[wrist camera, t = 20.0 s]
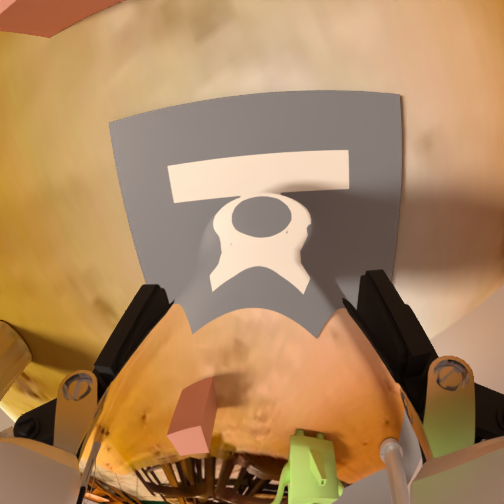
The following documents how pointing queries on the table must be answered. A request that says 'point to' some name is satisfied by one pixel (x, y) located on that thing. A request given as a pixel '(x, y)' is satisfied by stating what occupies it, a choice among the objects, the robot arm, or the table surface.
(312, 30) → the table surface
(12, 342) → the vase
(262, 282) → the beer glass
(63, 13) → the block
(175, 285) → the board
